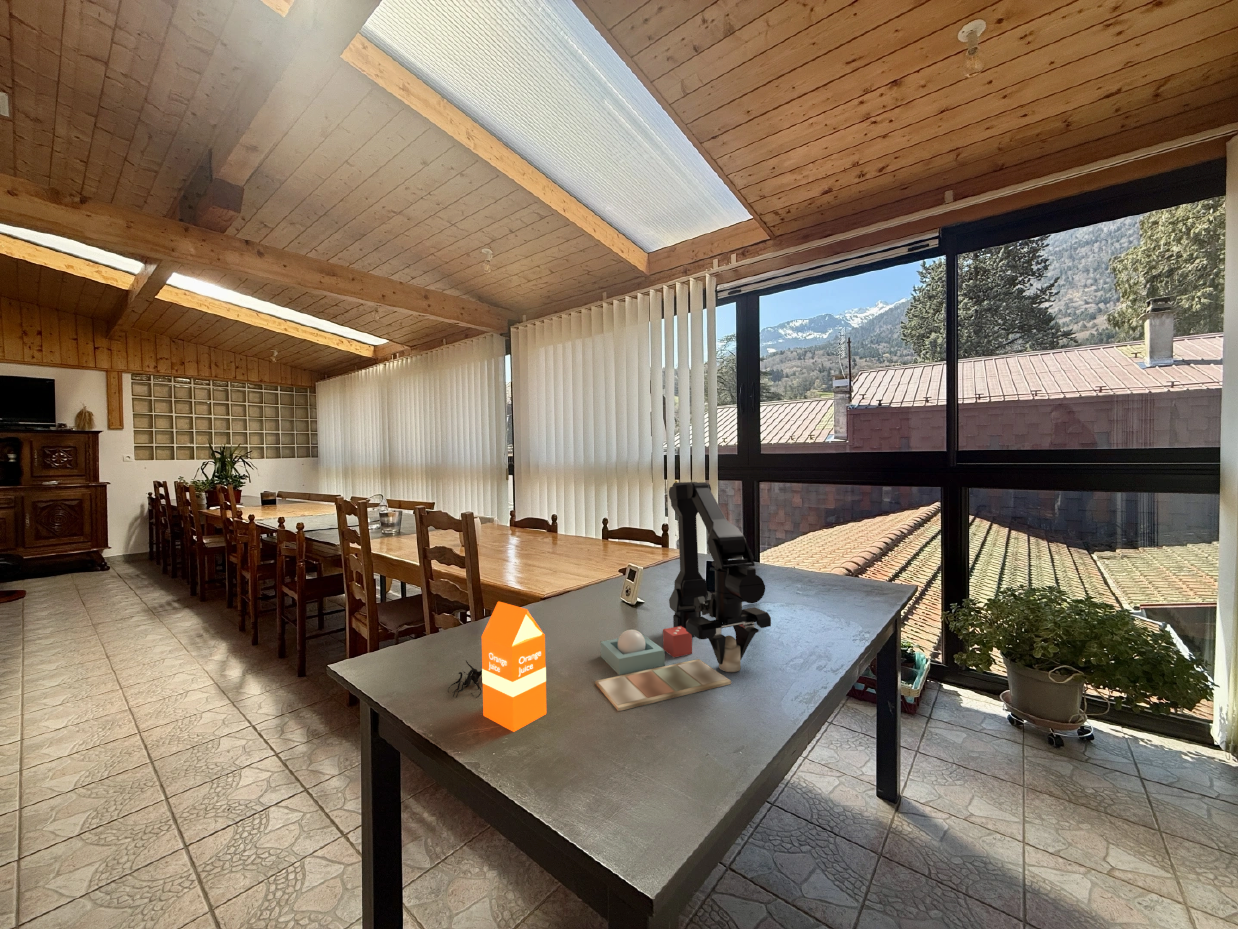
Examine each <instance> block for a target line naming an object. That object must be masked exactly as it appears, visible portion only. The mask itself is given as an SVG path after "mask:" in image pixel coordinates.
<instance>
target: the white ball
mask: <svg viewBox="0 0 1238 929" xmlns="http://www.w3.org/2000/svg"><path fill="white" fill-rule="evenodd" d="M642 634H643V633H641V632H640V631H638V630H636V629H627V630H625V631H623V632H622V633H621V634H620V636H619V637H618V638H619V639H618V650H619V651H620V652H621V653H622V654H623V655H624V654H629V653H634V652H639V651H644V650H645V646H646V643H645V639H644V637H643V635H644V634H643V635H642Z"/></svg>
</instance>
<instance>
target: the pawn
mask: <svg viewBox="0 0 1238 929" xmlns="http://www.w3.org/2000/svg"><path fill="white" fill-rule="evenodd" d="M724 636H725V635H724ZM725 637H726V640H725V650H724V659H723V663H722V664H719V663H718V668H719V669H720V670H722V671H723V672H727V673H737V672H739V671H740V670H741V662H742V661H741V660H740V646H739V645H738V644H736V637H734V636H732V635H726V636H725Z"/></svg>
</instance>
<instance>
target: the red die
mask: <svg viewBox="0 0 1238 929" xmlns="http://www.w3.org/2000/svg"><path fill="white" fill-rule="evenodd" d="M662 649H664V652H665V653H667V654H668V655H669V656H671V657H672V658H678V657H681V656H682V657H683V656H688V655H692V654H693V636H692V635H691V634H690V633H688V632H687V631H686V629H685V628H683V627H682V626H678V627H673V626H672V627H668V628H663V629H662Z"/></svg>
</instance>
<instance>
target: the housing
mask: <svg viewBox="0 0 1238 929" xmlns="http://www.w3.org/2000/svg"><path fill="white" fill-rule="evenodd" d="M641 634H642V635H643V637H644V639H645V643H646V646H645V650H644V651H639V652H634V653H629V654H624V655H623V654H622V653H621V652H620V651H619V650H618V639H619V637H618V638H611V639H607V640H602V641H600V644H599V645H600V657H601V658H602V659H603V661H605V662H606V664H608V666H610V668H612V670H614V672H616V673H617V675H618V676H621V675H626V674H630V673H635V672H640V671H645V670H649V669H654V668H659V667H664V666H666V664H665V662H666V660H665V651H664V649H663V647H661V646H660V645H658V644H657V643H655V642H654V641H653V640H651V639H650V638H649V637H648V636H646V635H645V634H643V633H641Z"/></svg>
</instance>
